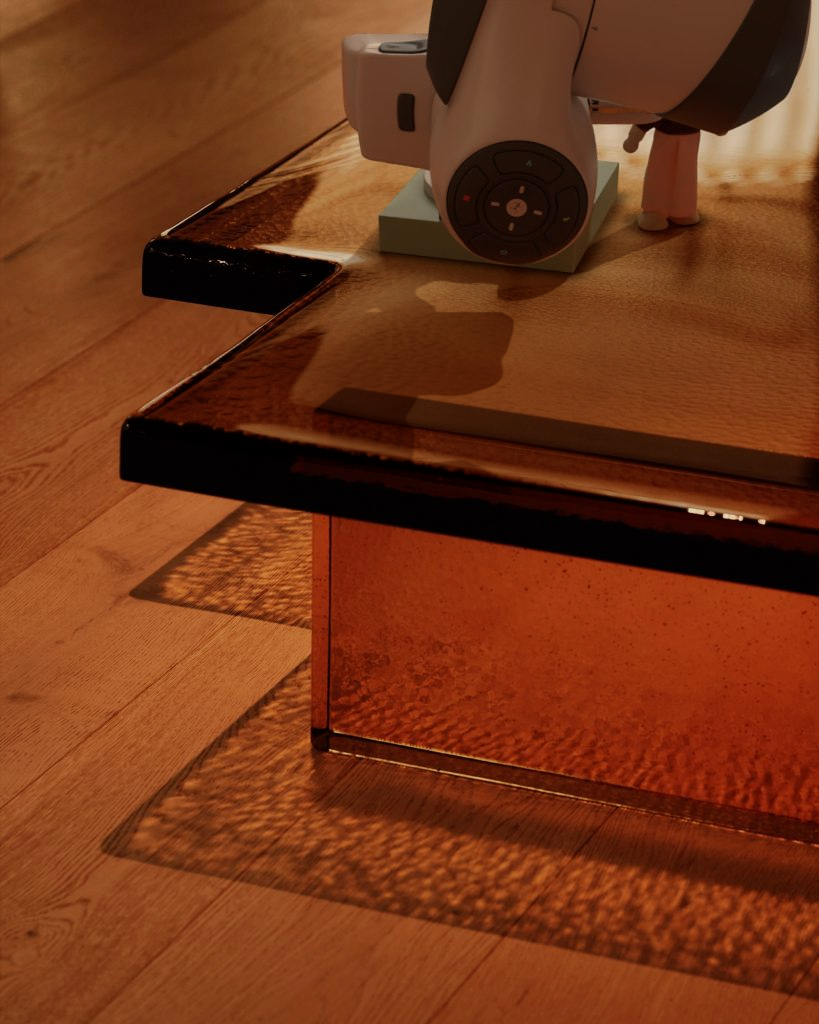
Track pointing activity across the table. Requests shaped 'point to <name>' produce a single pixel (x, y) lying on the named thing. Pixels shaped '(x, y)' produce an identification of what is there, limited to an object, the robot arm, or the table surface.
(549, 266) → the scale
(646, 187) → the grandmother figurine
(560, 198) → the robot arm
